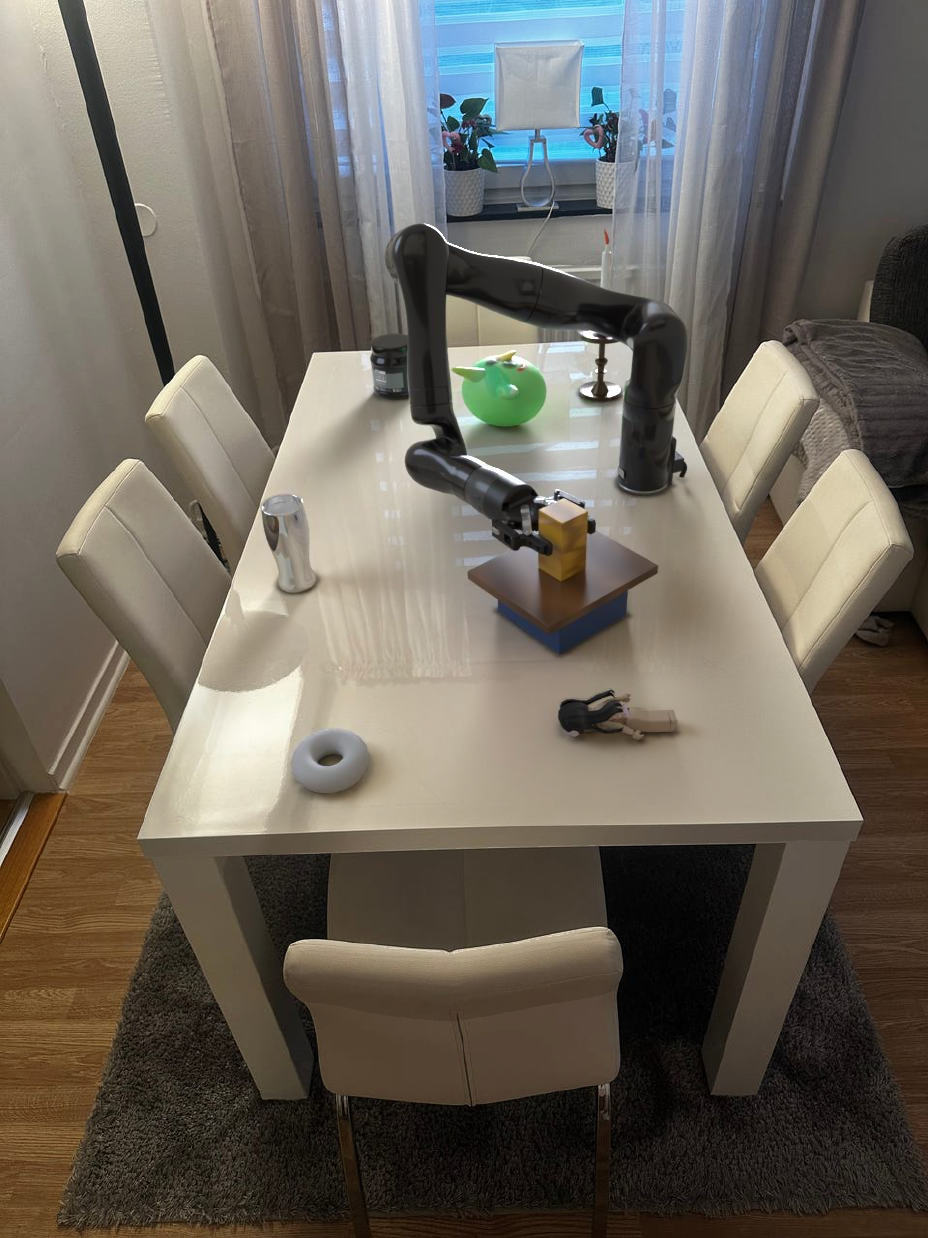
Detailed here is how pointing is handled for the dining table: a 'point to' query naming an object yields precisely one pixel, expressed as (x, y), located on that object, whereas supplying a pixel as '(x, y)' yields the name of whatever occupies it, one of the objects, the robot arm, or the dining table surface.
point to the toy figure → (612, 717)
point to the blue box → (573, 624)
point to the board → (570, 599)
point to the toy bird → (503, 389)
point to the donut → (335, 775)
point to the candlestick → (600, 346)
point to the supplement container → (390, 366)
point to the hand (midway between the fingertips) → (572, 539)
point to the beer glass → (289, 540)
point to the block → (564, 538)
